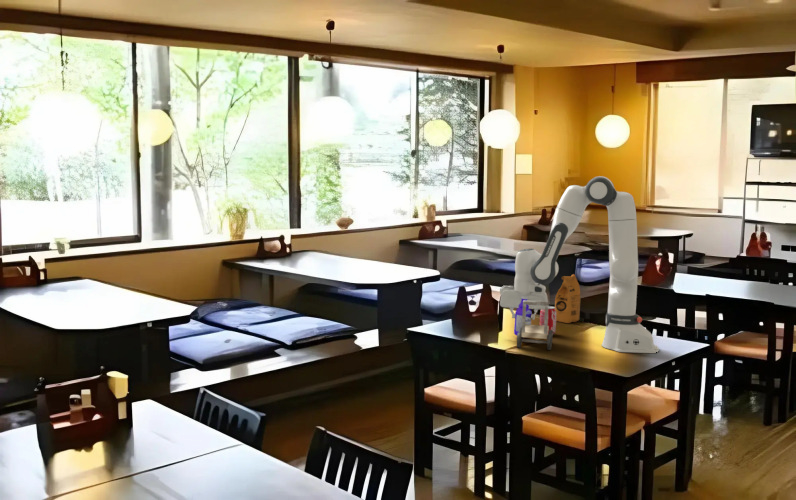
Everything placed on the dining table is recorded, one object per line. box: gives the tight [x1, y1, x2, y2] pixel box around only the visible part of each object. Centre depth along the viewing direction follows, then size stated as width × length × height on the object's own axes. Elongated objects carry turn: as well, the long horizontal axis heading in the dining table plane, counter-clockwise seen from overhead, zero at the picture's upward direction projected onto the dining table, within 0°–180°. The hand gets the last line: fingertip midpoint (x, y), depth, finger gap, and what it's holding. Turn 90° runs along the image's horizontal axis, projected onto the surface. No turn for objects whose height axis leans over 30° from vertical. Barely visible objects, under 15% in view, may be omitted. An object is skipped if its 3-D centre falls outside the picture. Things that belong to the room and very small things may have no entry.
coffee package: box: [554, 273, 581, 324], centre depth 376 cm, size 10×12×22 cm
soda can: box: [539, 305, 557, 335], centre depth 346 cm, size 7×7×12 cm
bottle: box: [513, 296, 533, 336], centre depth 336 cm, size 7×6×17 cm
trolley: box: [516, 300, 554, 351], centre depth 322 cm, size 14×16×20 cm
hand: (523, 318), depth 336 cm, fingers closed on bottle, 6 cm apart
